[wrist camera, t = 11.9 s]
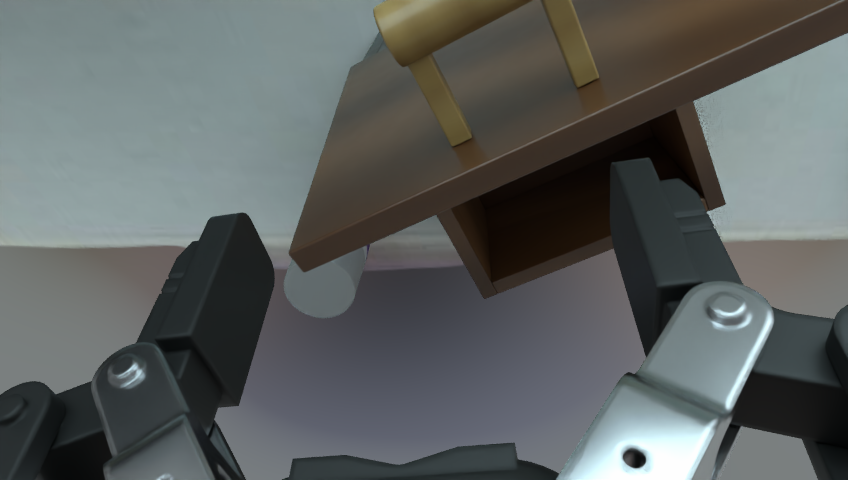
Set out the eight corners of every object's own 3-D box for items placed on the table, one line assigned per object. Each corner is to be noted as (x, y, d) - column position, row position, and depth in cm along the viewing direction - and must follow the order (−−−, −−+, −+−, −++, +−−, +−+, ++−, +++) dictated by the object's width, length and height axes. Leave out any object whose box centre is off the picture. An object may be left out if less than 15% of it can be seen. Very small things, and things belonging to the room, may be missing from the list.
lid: (855, 30, 15) (822, -221, 12) (303, 274, 19) (187, 127, 16) (641, -68, 30) (605, -191, 27) (358, 81, 34) (302, -13, 31)
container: (383, 215, 52) (358, 322, 39) (328, 212, 52) (284, 318, 39) (382, 163, 49) (356, 258, 36) (325, 161, 50) (278, 254, 37)
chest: (666, 137, 47) (726, 204, 37) (478, 218, 52) (484, 299, 41) (589, -84, 40) (636, -78, 30) (379, 31, 44) (355, 71, 34)
